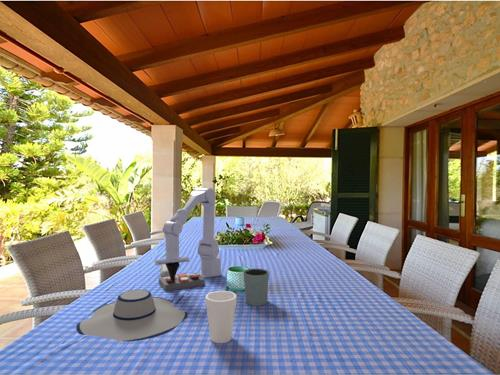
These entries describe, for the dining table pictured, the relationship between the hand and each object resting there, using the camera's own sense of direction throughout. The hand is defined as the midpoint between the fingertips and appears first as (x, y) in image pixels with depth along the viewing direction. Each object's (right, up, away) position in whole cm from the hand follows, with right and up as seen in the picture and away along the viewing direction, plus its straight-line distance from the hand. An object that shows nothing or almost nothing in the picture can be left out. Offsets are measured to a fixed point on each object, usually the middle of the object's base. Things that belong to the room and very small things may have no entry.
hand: (172, 279), depth 150 cm
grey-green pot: (+36, -5, -15) cm, 40 cm away
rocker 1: (-1, 0, +2) cm, 3 cm away
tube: (-9, -4, +25) cm, 27 cm away
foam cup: (+25, -6, -45) cm, 52 cm away
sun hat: (-6, -6, -30) cm, 31 cm away
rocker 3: (+9, 0, +7) cm, 11 cm away
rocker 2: (+4, 0, +5) cm, 6 cm away
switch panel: (+3, -4, +7) cm, 9 cm away
